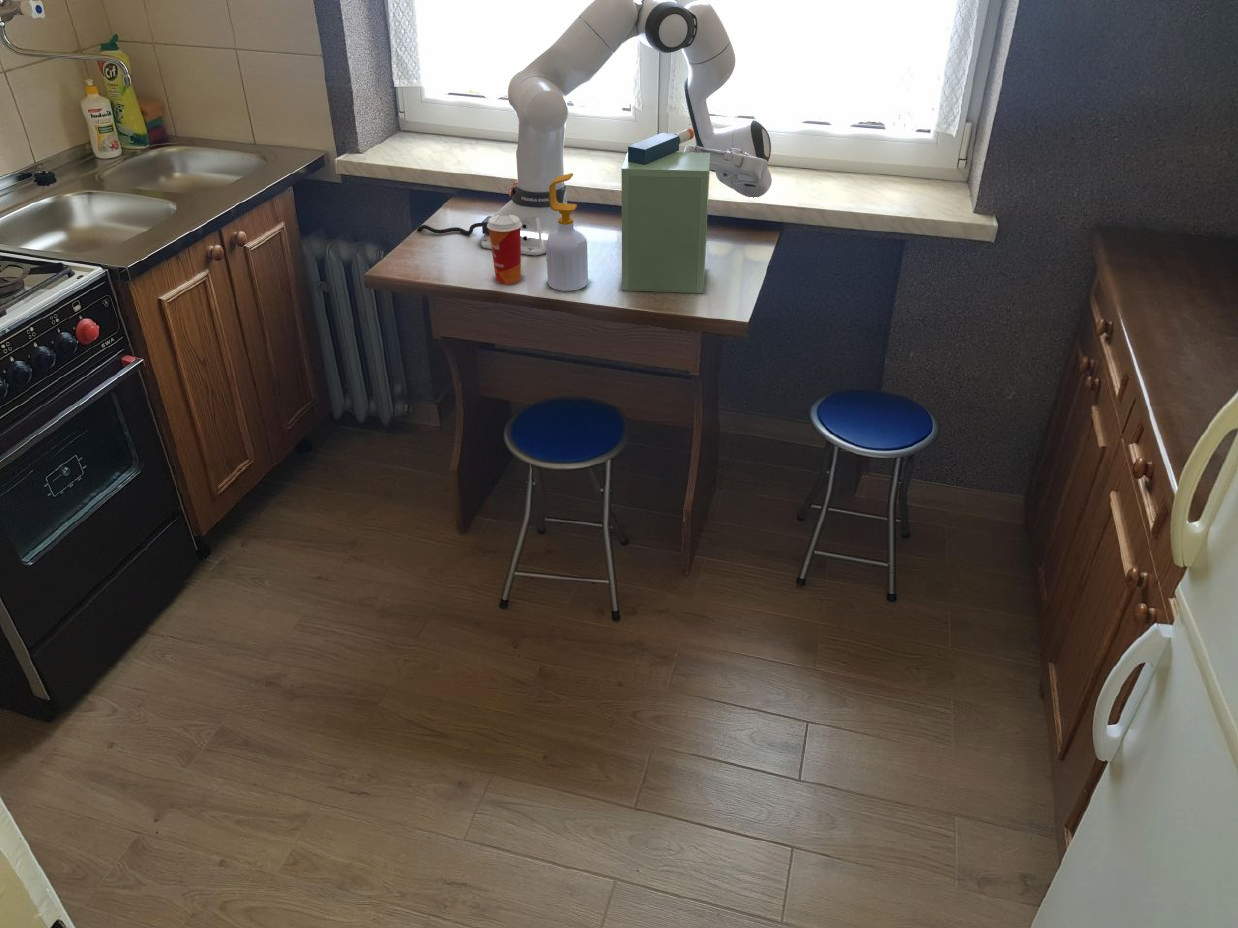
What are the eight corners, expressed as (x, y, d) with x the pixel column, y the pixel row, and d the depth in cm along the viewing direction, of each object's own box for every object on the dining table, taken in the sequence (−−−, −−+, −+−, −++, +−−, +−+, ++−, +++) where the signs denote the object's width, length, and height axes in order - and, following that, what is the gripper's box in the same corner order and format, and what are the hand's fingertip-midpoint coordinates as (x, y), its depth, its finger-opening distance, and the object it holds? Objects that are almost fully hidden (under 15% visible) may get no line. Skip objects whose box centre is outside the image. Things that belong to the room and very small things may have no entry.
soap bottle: (583, 293, 211) (579, 182, 197) (543, 290, 213) (537, 180, 199) (592, 277, 218) (589, 170, 205) (553, 274, 220) (548, 167, 206)
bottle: (681, 139, 215) (681, 125, 213) (697, 142, 213) (698, 128, 211) (627, 161, 201) (627, 146, 200) (644, 165, 199) (645, 149, 197)
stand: (627, 267, 223) (627, 150, 208) (704, 270, 221) (710, 153, 206) (621, 290, 212) (621, 168, 197) (702, 293, 211) (708, 171, 196)
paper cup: (492, 273, 221) (486, 214, 213) (525, 272, 221) (521, 213, 213) (491, 286, 214) (485, 226, 206) (525, 285, 215) (521, 225, 207)
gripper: (701, 148, 239) (676, 131, 227) (774, 162, 229) (751, 145, 217) (694, 173, 240) (668, 158, 228) (766, 188, 230) (742, 173, 218)
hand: (709, 152), depth 223 cm, fingers open, 8 cm apart
